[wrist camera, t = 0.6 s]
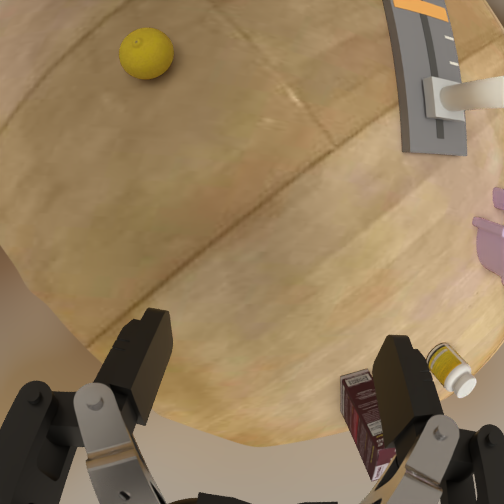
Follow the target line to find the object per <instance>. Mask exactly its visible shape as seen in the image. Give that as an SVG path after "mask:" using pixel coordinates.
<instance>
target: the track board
mask: <svg viewBox="0 0 504 504" xmlns="http://www.w3.org/2000/svg"><path fill="white" fill-rule="evenodd" d="M383 4H384V9H385V13H386V18H387V23H388V28H389V34H390V39H391V45H392V51H393V57H394V64H395V72H396V79H397V88H398V97H399V108H400V121H401V137H402V152H415V153H432V154H446V155H458V156H467V137H466V120H465V121H457V122H455V121H449V120H442V119H435V118H427V116H426V104H425V94H424V86H423V79H424V78H428V77H431V76H432V77H437V78H441V79H446V80H450V81H454V82H458V83H462V82H461V75H460V69H459V63H458V57H457V52H456V47H455V42H454V37H453V32H452V28H451V24H450V20H449V16H448V12H447V8H446V5H445V1H444V0H383ZM464 117H465V110H464Z"/></svg>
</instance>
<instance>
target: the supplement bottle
mask: <svg viewBox="0 0 504 504" xmlns="http://www.w3.org/2000/svg"><path fill="white" fill-rule="evenodd" d="M427 364H428V367H429V369H430V371H431V372H432V373H433V374H434V375H435V377H436V378H437V379H438V380H439V382H440V383H441V384H442V385H443V387H444V388H445V389H446V390H447V391H450V392H452V391H454V393H455V394H456V396H457V397H458V398H462V397H465V396H467V395H468V394H469V393H470V392H471V391H472V390H473V389H474V387H475V385H476V379H475V377H474V376H473V375H472V374H471V367H470V366H469V365H468V363H467V362H466V361H465V360H464V359H463V358H462V357H461V356H460V355H459V354H458V353H457V352H456V351H455V350H454V349H453V348H452V347H451V346H450V345H449V344H446V343H443V344H440V345H438V346H436V347H435V348H434V349H433V350H432V351H431V352H430V354H429V355H428V358H427Z"/></svg>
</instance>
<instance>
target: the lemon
mask: <svg viewBox="0 0 504 504" xmlns="http://www.w3.org/2000/svg"><path fill="white" fill-rule="evenodd" d="M173 55H174V50H173V45H172V43H171V41H170V39H169V38H168V37H167V36H166V35H165V34H164V33H163V32H161V31H159V30H157V29H154V28H140V29H137V30H135V31H133V32H131V33H130V34H129V35H127V37H126V38H125V39H124V40H123V42H122V43H121V46H120V49H119V59H120V63H121V65H122V67H123V68H124V70H125V71H126V72H127V73H128V74H130V75H131V76H133V77H135V78H138V79H152V78H156V77H158V76H160V75H161V74H163V73H164V72H165V71H166V70H167V69H168V68H169V66H170V65H171V63H172V60H173Z"/></svg>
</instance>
